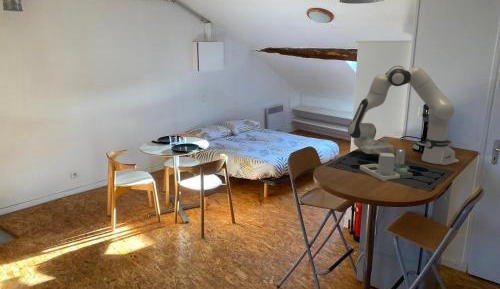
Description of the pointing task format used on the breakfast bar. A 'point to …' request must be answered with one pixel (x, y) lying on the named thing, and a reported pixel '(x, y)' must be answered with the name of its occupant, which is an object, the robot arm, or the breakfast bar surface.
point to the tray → (399, 168)
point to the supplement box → (386, 164)
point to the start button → (403, 170)
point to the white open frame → (375, 172)
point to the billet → (399, 158)
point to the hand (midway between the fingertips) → (386, 152)
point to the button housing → (402, 176)
